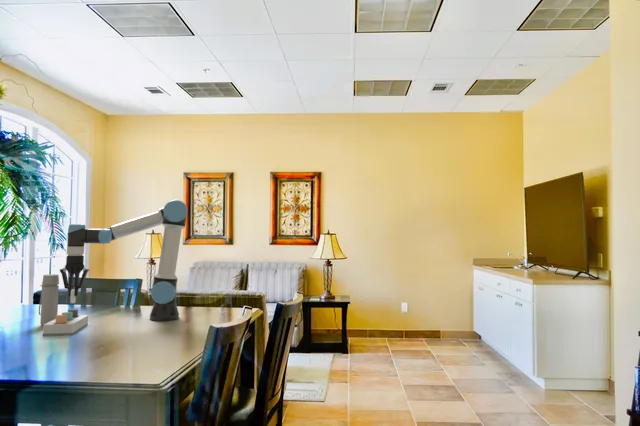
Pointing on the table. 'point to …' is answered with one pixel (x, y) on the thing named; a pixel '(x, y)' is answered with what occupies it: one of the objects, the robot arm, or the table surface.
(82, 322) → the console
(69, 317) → the button teal
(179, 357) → the table surface
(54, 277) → the water bottle
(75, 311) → the button charcoal
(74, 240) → the robot arm
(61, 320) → the button terracotta
